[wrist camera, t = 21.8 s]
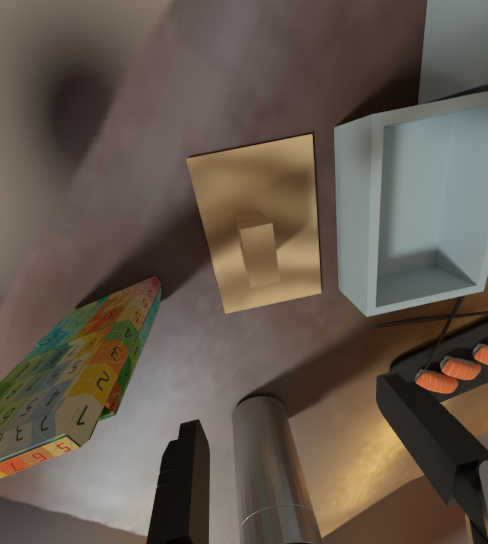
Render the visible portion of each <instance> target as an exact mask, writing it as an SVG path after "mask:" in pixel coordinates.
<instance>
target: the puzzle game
mask: <svg viewBox="0 0 488 544" xmlns="http://www.w3.org/2000/svg"><path fill="white" fill-rule="evenodd" d="M160 299H161V283H160V281H159V280H158V278H157V276H155V277H151V278H149V279H147V280H144V281H142V282H139V283H137V284H135V285H132V286H130V287H128V288H125V289H123V290H121V291H118V292H116V293H114V294H111V295H109V296H107V297H104V298H102V299H99V300H97V301H95V302H92V303H90V304H88V305H85V306H83V307H81V308H78V309H76V310H74V311H71V312H69V313H68V314H67V315H66V316H65V317H64V318H63V320H62V321H61V322H60V323H59V324H58V325H57V326H56V327H55V328H54V329H53V330H52V331H51V332H50V333H49V334H48V335H46V336H45V337H43V338H42V339H40V340H39V341H38V342H37V346H36V347H35V348H34V349H33V350H32V351H31V352H30V353H29V354H28V355H27V356H26V357H25V358H24V359H23V360H22V361H21V362H20V363H19V364H18V365H17V366H16V367H15V368H14V369H13V370H12V371H11V372H10V373H9V374H8V375H7V376H6V377H5V378H4V379H3V380H2V381H1V382H0V478H3V477H5V476H8V475H10V474H13V473H15V472H18V471H21V470H23V469H26V468H28V467H31V466H34V465H36V464H39V463H41V462H44V461H46V460H49V459H52V458H54V457H57V456H59V455H62V454H65V453H67V452H70V451H72V450H75V449H78V448H80V447H81V446H82V445H84V444H85V443H86V442H87V441H88V440H89V439H90V438H91V436H92V434H93V431H94V429H95V427H96V425H97V423H98V421H101V420H103V419H106V418H109V417H111V416H114V415H116V413H117V410H118V408H119V406H120V403H121V401H122V398H123V396H124V393H125V391H126V388H127V386H128V384H129V381H130V379H131V376H132V374H133V371H134V369H135V366H136V364H137V361H138V359H139V357H140V354H141V352H142V349H143V347H144V344H145V342H146V339H147V337H148V335H149V332H150V330H151V327H152V325H153V322H154V320H155V317H156V315H157V312H158V310H159V305H160Z"/></svg>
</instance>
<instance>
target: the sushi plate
mask: <svg viewBox="0 0 488 544" xmlns="http://www.w3.org/2000/svg"><path fill="white" fill-rule="evenodd" d="M464 296H465V295H464ZM464 296H459V298H458V300H457V303H456V305H455V307H454V309H453V311H452V313H451V315H446V316H436V317H425V318H415V319H409V320H402V321H396V322H390V323H384V324H378V325H377V327H386V326H395V325H403V324H411V323H419V322H427V321H435V320H443V319H448V321H447V323H446V325H445V327H444V329H443V331H442V333H441V335H440V337H439V339H438V341H437V343H436V344H434V345H432V346H430V347H428V348H425V349H423V350H421V351H419V352H417V353H415V354H412V355H410V356H408V357H406V358H404V359H402V360H400V361H399V362H397V363H396V364H395V365H393V366H392V367H391V368H390V371H389V372H393V371H395V372H397V373H398V374H400V375H401V377H402V378H403V379H404V380H405V381H406V382H407V383H408V382H412V381H413V382H415V383H417V384H418V385H420V386H422V387H423V388H425V389H427V390H428V391H429V392H430V393H431V394H432V395H433V396H434V397H435V398H436V399H437V400H438V401H439V403H441V402H443V401H445V400H448V399H450V398H452V397H455V396H457V395H459V394H462V393H464V392H467V391H469V390H471V389H474V388H476V387H478V386H481V385H483V384H485V383H488V321H486V322H483V323H481V324H479V325H477V326H474V327H472V328H470V329H468V330H466V331H463V332H461V333H459V334H457V335H454V336H452V337H450V338H448V339H445V340H443V341H441V340H442V338H443V337H444V335H445V333H446V331H447V329H448V327H449V325H450V323H451V321H452V319H453V318H458V317H467V316H475V315H484V314H488V311H486V312H476V313H467V314H457V315H455V313H456V311H457V310H458V308H459V306H460V304H461V302H462V300H463V298H464Z"/></svg>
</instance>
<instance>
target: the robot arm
mask: <svg viewBox="0 0 488 544" xmlns="http://www.w3.org/2000/svg"><path fill="white" fill-rule="evenodd" d="M376 401H377V404H378V407H379V409H380V411H381V413H382V415H383V416H384V418H385V419H386V420H387V422H388V423H389V425H390V426H391V427H392V429H393V430H394V432H395V433H396V435H397V436H398V437H399V439H400V440H401V442H402V443H403V444H404V446H405V447H406V449H407V450H408V452H409V453H410V454H411V456H412V457H413V459H414V460H415V461H416V463H417V464H418V466H419V467H420V469H421V470H422V471H423V473H424V474H425V476H426V477H427V478H428V480H429V481H430V483H431V484H432V485H433V487H434V488H435V490H436V491H437V492H438V494H439V495H440V497H441V498H442V500H443V501H444V502H445V504H446V505H447V506H450V505H454V504H459V505H460V507H461V508H462V509H463V510H464V512H465V513H466V523H467V530H468V537H469V543H470V544H488V450H487V449H486V448H485V447H484V446H483V445H482V444H481V443H480V442H479V441H478V440H477V439H476V438H475V437H474V436H473V435H472V434H471V433H470V432H469V431H468V430H467V429H466V428H465V427H464V426H463V425H462V424H461V423H460V422H459V421H458V420H457V419H456V418H455V417H454V416H453V415H452V414H450V413H449V411H448V410H447V409H446V408H445V407H444V406H443V405H442V404H440V403H439V401H438V400H437V399H436V398H435V397H434V396H433V395H432V394H431V393H430V392H429V391H428V390H427V389H425V388H423V387H422V386H420V385H418V384H417V383H415V382H413V381H412V382H408V383H407V382H406V381H405V380H404V379H403V378H402V377H401V375H400V374H398V373H397V372H395V371H393V372H389V373H385V374H381V375H378V376H377V385H376ZM232 424H233V440H234V457H235V473H236V489H237V505H238V521H239V534H240V544H323V541H322V538H321V534H320V531H319V527H318V524H317V520H316V517H315V514H314V510H313V507H312V503H311V500H310V496H309V493H308V489H307V485H306V482H305V478H304V475H303V471H302V468H301V464H300V461H299V457H298V454H297V450H296V447H295V443H294V440H293V436H292V433H291V429H290V425H289V422H288V418H287V415H286V411H285V408H284V406H283V404H282V403H281V402H280V401H279V400H277V399H275V398H273V397H268V396H258V397H253V398H249V399H247V400H245V401H243V402H242V403H240V404H239V405H238V406H237V407H236V408H235V410H234V412H233V415H232ZM209 485H210V451H209V444H208V441H207V438H206V435H205V433H204V430H203V428H202V425H201V423H200V421H199V419H197V420H193V421H189V422H185V423H182V424H181V425H180V429H179V436H178V439H177V440H173V441H170V442H169V444H168V446H167V448H166V450H165V452H164V454H163V456H162V461H161V467H160V475H159V478H158V483H157V488H156V494H155V499H154V505H153V510H152V516H151V521H150V527H149V532H148V538H147V542H146V544H209Z"/></svg>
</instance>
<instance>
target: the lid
mask: <svg viewBox="0 0 488 544" xmlns="http://www.w3.org/2000/svg"><path fill="white" fill-rule="evenodd" d="M186 160H187V164H188V168H189V172H190V176H191V179H192V183H193V187H194V191H195V195H196V199H197V203H198V207H199V211H200V215H201V219H202V223H203V227H204V231H205V235H206V239H207V243H208V247H209V251H210V255H211V259H212V263H213V267H214V271H215V274H216V278H217V282H218V286H219V290H220V294H221V298H222V302H223V306H224V310H225V314H226V313H231V312H236V311H240V310H245V309H250V308H254V307H259V306H264V305H268V304H273V303H278V302H282V301H287V300H292V299H296V298H301V297H305V296H310V295H315V294H319V293H321V277H320V259H319V242H318V224H317V206H316V189H315V171H314V154H313V136H312V134H310V135H304V136H299V137H294V138H289V139H284V140H279V141H274V142H269V143H264V144H259V145H254V146H249V147H244V148H238V149H233V150H228V151H223V152H218V153H213V154H208V155H203V156H198V157H193V158H188V159H186Z"/></svg>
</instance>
